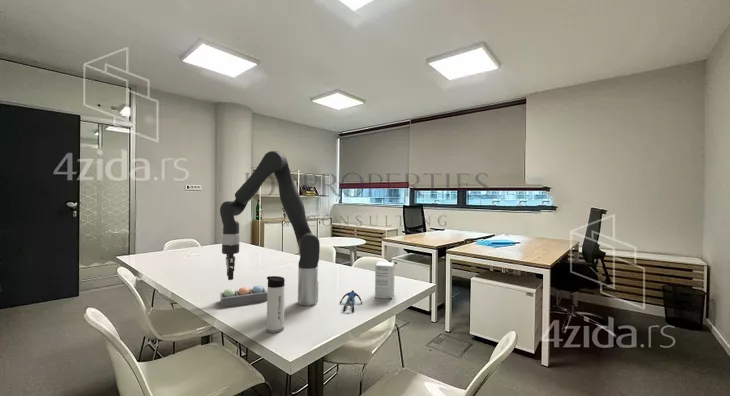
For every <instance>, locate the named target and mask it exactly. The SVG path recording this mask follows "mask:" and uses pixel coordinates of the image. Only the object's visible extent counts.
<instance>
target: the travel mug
mask: <svg viewBox="0 0 730 396" xmlns="http://www.w3.org/2000/svg"><path fill="white" fill-rule="evenodd" d="M266 280H267V290H266V292H267V301H266V331H267V332H268V333H270V334H276V333H280V332H282V331H283V330H284V329H285V325H284V324H285V291H286V290H285V289H286V288H285V287H286V284H285V280H286V279H285V277H282V276H277V275H276V276H275V275H271V276H270V275H268V276H267V277H266Z"/></svg>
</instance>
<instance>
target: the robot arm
mask: <svg viewBox="0 0 730 396" xmlns="http://www.w3.org/2000/svg"><path fill="white" fill-rule="evenodd" d="M273 174H274V176H275V178H276V181H277V184H278V185H277V186H278V193H279V194H278V195H279V199H280V202H281V205H282V208H283V210H284V212H285V214H286V216H287V219H288V221H289V223H290V225H291V226H292V229H293V231H294V235H295V238H296V243H297V247H298V248H299V249H300V250H299V251H300V252H299V260H298V270H297V271H298V272H297V305H300V306H312V305H314V306H315V305H317V303H318V301H319V281H318V278H319V277H318V276H319V274H318V273H319V272H318V271H319V268H318V267H319V265H318V264H319V262H320V240H319V238H318V236H317V235H315V234H313V233H312V230H311V228H310V226H309V224H308V222H307V217H306V216H307V215H306V210H305V206H304V202H303V199H302V198H301V195H300V193H299V190H298V187H297V185H296V183H295V180H294V179H293V177H292V173H291V169H290V166H289V163H288V159H287V157H286V155H285V154H284V152H282V151H280V150H271V151H267V152H266V153H265V154H264V156H263V157H262V159H261V161H260V162H259V163H258V165H257V167H256V168H255V170H254V171H253V172H252V174H251V175H250V176H249V177H248V178H247V180H246V181H244V183H243V184H242V185H241V186H240V187H239V188H238V189H237V191H236V192H235V193H234V198H235V199H234V200H230V201H229V200H228V201H224V202H222V203H221V206H220V208H219V214H220V218H221V221H222V222H221V223H222V226H223V227H222V236H221V237H222V238H221V253H222V255H226V256H225V265H226V276H227V280H228V281H233V280H234V272H235V267H236V266H235V265H236V257H235V254H239V253H240V223H239V222H238V221H236V220H235V217H237V216H239V215H241V214H242V213H243V212H244V210H245V209H246V208H247V205H248V204H249V202H250V201H251V199H253V198H254V196H255V195H256V194H257V192H259V190H260V189H261V188H262V187H261V186H262V185H263V183H264V182H265V181H266V180H267V179H268V178H269V177H270V176H271V175H273Z"/></svg>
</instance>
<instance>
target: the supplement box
mask: <svg viewBox="0 0 730 396" xmlns="http://www.w3.org/2000/svg"><path fill="white" fill-rule="evenodd" d="M395 264H396V263H395V262H392V261H389V262H388V261H377V262H376V264H375V269H374V270H375V271H374V272H375V274H374V275H375V276H374V278H375V280H374V283H375V285H374V287H375V288H374V296H375V297H380V298H379V299H386V298H394V295H395ZM375 297H374V298H375Z"/></svg>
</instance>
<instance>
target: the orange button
mask: <svg viewBox="0 0 730 396" xmlns="http://www.w3.org/2000/svg"><path fill="white" fill-rule="evenodd" d="M249 289H250V288H249V287H248V286H246V287H243V286H242V287H240V288H238V291H239V295H245V294H249Z"/></svg>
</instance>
